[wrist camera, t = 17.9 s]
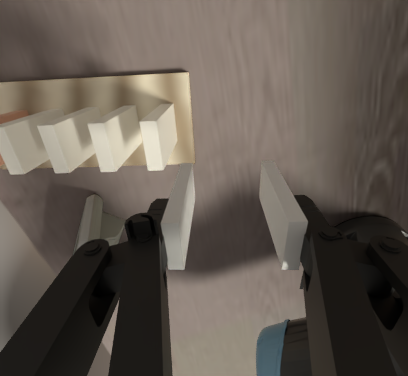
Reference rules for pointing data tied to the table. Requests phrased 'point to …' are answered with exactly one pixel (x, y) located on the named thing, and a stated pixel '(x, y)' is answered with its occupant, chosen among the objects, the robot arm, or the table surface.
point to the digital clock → (98, 224)
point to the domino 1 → (10, 117)
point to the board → (109, 104)
